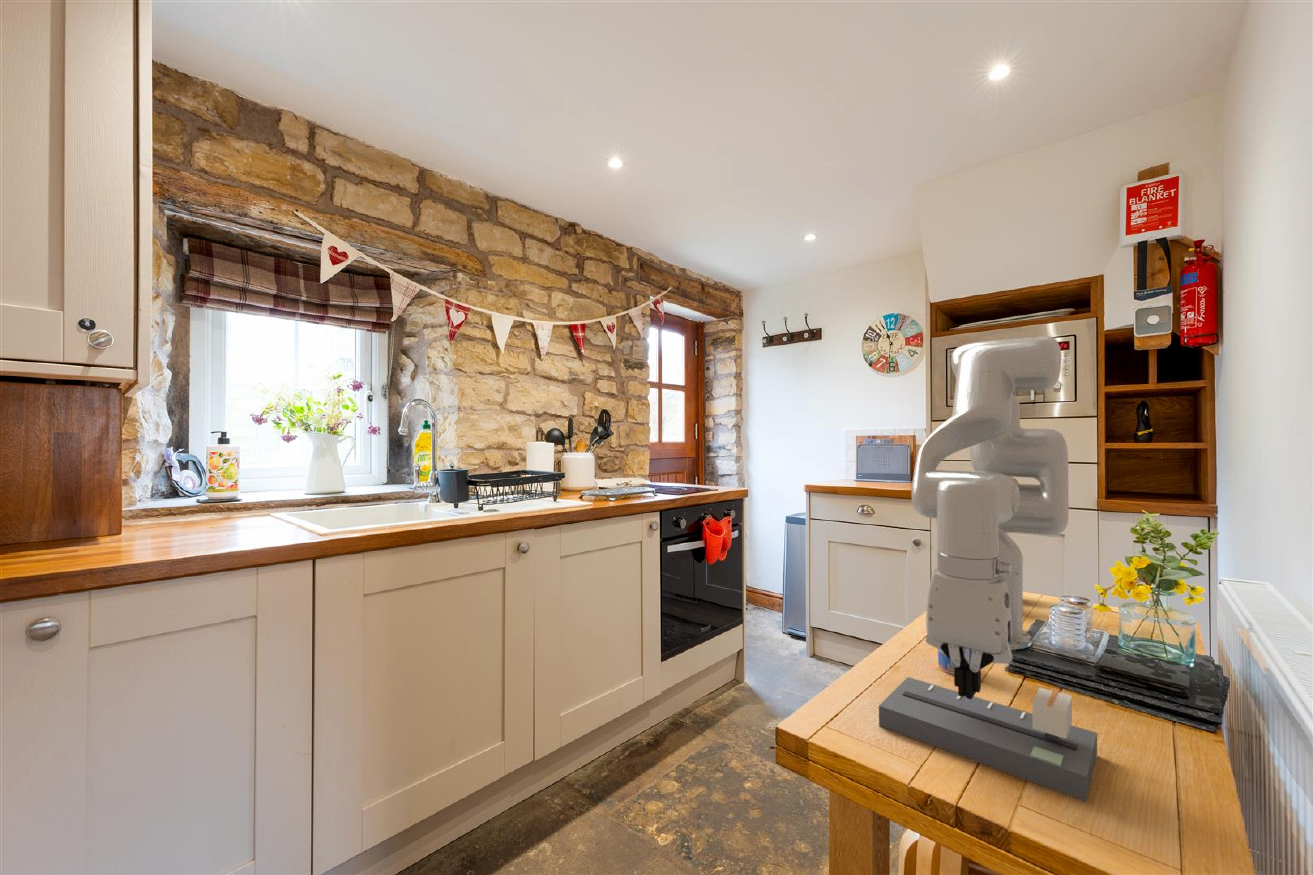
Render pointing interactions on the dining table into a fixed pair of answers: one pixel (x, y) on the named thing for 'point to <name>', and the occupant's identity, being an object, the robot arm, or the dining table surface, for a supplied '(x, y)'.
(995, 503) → the robot arm
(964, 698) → the console
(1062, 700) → the fader
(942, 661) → the pill bottle
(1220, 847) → the dining table surface
